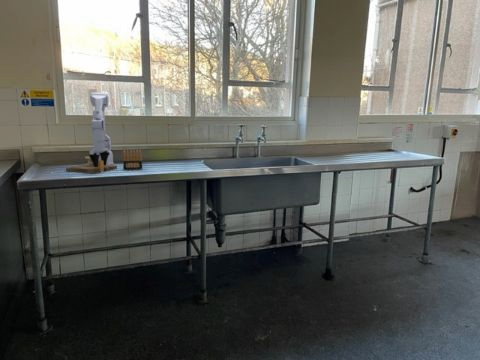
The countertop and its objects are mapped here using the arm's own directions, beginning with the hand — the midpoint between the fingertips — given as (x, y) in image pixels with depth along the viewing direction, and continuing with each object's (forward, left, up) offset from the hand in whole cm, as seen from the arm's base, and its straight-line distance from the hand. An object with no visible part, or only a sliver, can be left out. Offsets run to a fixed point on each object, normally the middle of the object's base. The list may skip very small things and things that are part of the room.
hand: (100, 165), depth 200 cm
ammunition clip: (-14, +12, -3) cm, 18 cm away
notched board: (-2, -8, -3) cm, 8 cm away
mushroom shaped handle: (-5, -10, -1) cm, 12 cm away
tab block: (0, 0, -3) cm, 3 cm away
